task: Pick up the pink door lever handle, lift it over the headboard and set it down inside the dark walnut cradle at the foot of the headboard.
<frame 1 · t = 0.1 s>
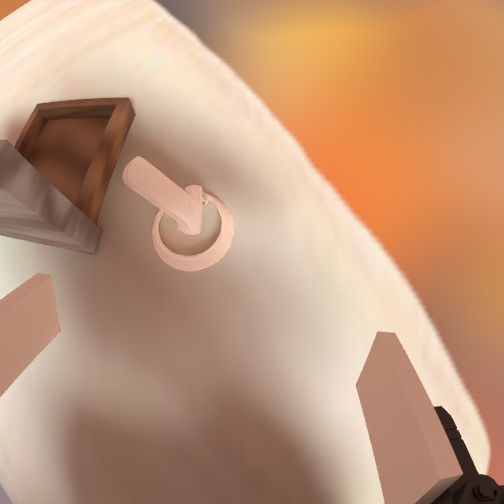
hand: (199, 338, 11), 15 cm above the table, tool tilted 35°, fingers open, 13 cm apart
pink door lever handle: (192, 231, 29), on the table
headboard cradle: (65, 162, 31), on the table
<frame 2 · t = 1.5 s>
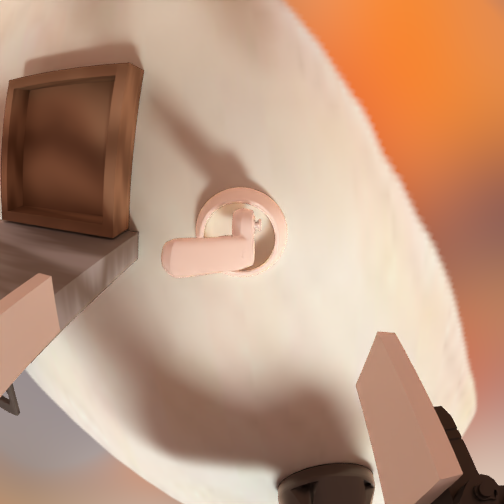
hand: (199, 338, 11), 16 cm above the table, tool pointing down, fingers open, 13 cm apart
zipper pull: (9, 319, 32), on the table
pink door lever handle: (240, 232, 27), on the table
headboard cradle: (69, 147, 25), on the table
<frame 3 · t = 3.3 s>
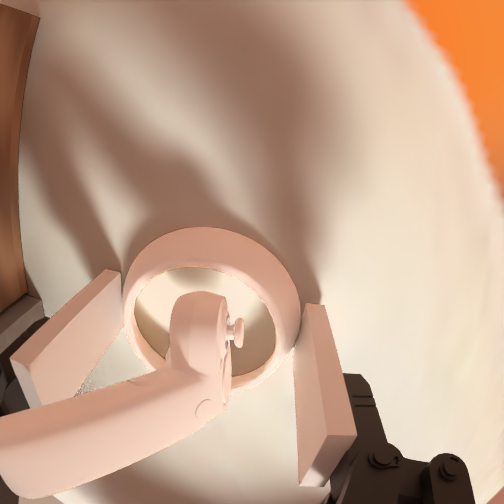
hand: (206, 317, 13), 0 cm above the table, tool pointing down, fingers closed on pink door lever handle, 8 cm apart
pink door lever handle: (208, 312, 13), on the table, touching gripper
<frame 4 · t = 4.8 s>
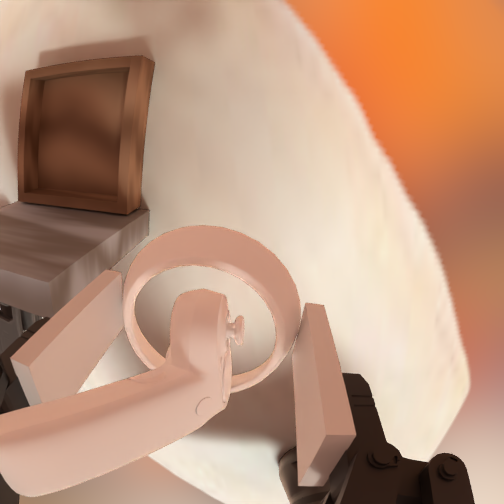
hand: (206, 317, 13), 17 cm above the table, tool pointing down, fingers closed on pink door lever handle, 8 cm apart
zipper pull: (25, 306, 35), on the table
pink door lever handle: (208, 311, 13), point 17 cm above the table, touching gripper
headboard cradle: (84, 132, 27), on the table
when the fingers open (3 cm above the table, at t = 9.4 s): pink door lever handle drops 2 cm, resting on headboard cradle.
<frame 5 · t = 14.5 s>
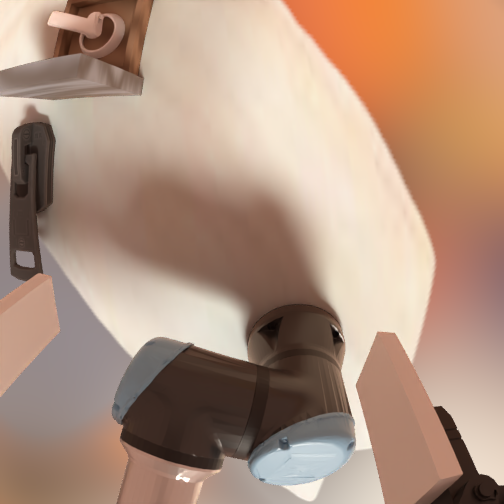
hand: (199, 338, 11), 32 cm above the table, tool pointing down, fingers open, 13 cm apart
zipper pull: (39, 196, 43), on the table
pink door lever handle: (102, 35, 34), resting on headboard cradle
headboard cradle: (104, 36, 34), on the table
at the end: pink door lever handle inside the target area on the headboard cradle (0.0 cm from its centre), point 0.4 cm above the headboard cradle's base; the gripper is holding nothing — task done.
